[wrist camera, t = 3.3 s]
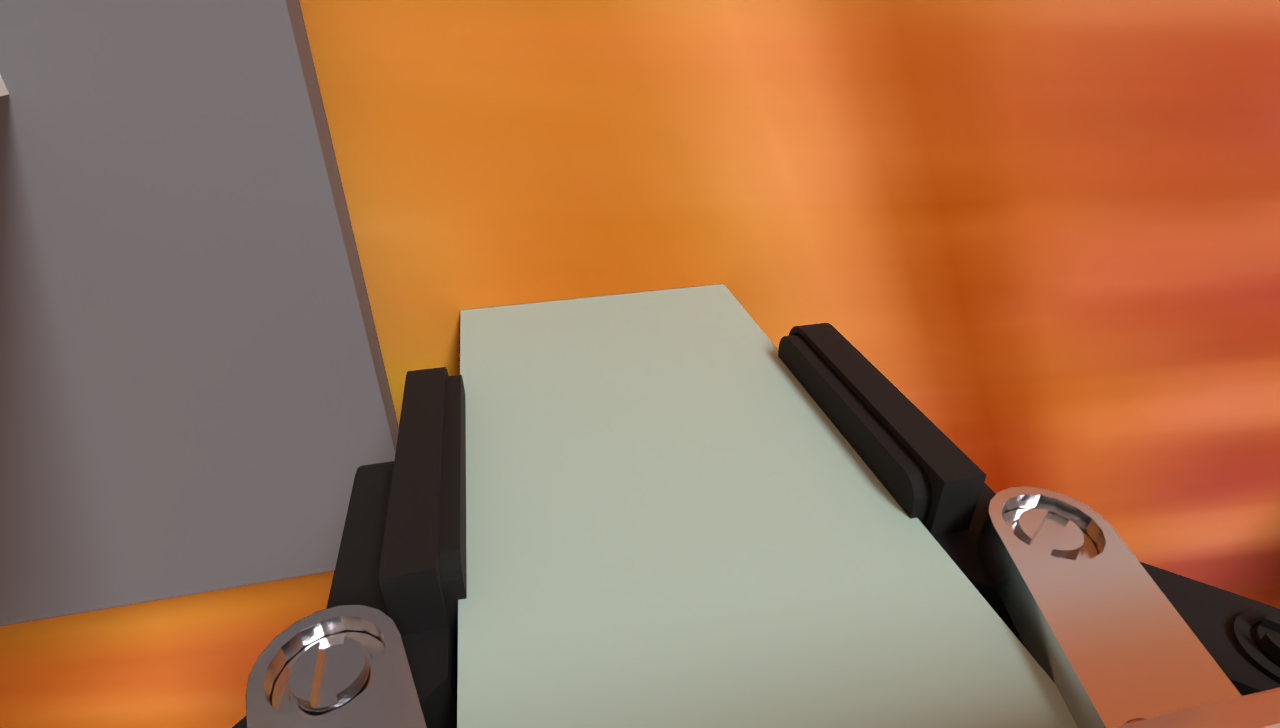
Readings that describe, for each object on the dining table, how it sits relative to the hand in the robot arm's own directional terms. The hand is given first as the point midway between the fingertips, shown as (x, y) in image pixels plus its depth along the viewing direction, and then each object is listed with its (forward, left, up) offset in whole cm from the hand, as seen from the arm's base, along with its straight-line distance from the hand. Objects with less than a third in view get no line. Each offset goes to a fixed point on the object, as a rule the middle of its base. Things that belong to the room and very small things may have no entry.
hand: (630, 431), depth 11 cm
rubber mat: (+16, 0, -3) cm, 16 cm away
